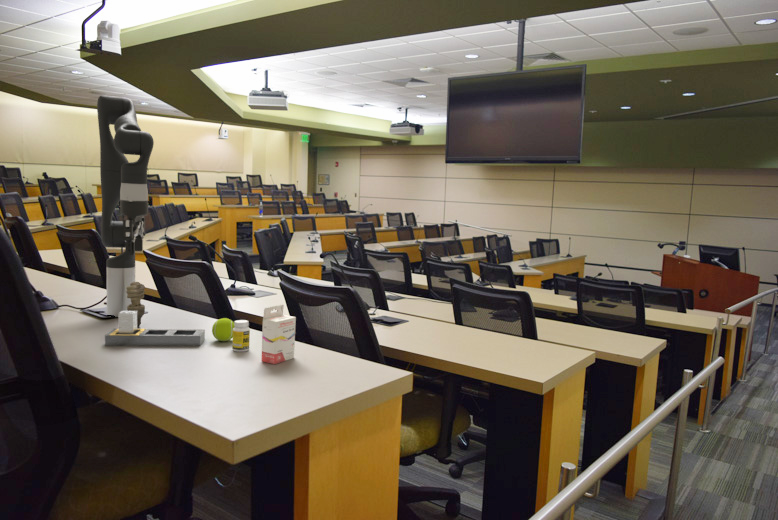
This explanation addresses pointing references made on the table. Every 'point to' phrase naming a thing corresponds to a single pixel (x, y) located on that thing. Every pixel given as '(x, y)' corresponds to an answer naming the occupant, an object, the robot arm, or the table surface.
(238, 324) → the supplement bottle
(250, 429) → the table surface
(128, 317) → the brushed metal square block
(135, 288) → the beige stone carving
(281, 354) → the ink cartridge box
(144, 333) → the grey long flat frame
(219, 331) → the tennis ball
